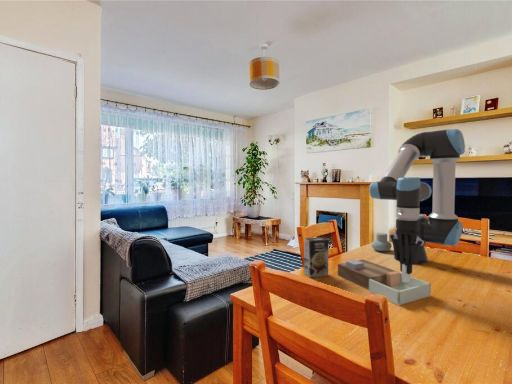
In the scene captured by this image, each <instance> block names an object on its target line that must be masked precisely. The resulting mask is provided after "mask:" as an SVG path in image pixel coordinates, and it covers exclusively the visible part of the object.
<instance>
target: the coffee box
mask: <svg viewBox="0 0 512 384" xmlns="http://www.w3.org/2000/svg"><path fill="white" fill-rule="evenodd" d="M303 239H304V243H303V249H304V250H303V253H304V254H303V255H304V256H303V273H304V275H306V276H307V277H308V278H316V277H327V276H329V247H330V245H329V241H330V239H328V238H325V237H322V236H319V237H318V236H317V237H307V238H305V237H304V238H303Z"/></svg>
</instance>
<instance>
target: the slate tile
mask: <svg viewBox="0 0 512 384" xmlns="http://www.w3.org/2000/svg"><path fill="white" fill-rule="evenodd" d="M345 263H346V266H348V267H350V268H353V269H360V268H364V263H362V262H360V261H357V259H350V260H346V261H345Z"/></svg>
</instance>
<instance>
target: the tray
mask: <svg viewBox="0 0 512 384" xmlns="http://www.w3.org/2000/svg"><path fill="white" fill-rule="evenodd" d="M399 273H400V285H398V286H394V287H389V286H386V285H383V284H381V283H379V282H376V281H374V280H372V279H369V290H368V292H369V293H373V295H376V294H381V295H384V296H386V297H387V298H388V300H387V301H389V302H391V303H392V304H395V305H397V306H401V305H405V304H408V303H411V302H415V301H419V300H422V299H426V298H428V297H431V286H432V284H431V283H430V282H427V281H426V280H422V279H419V278H416V277H412V276H411V275H410V282H402V272H399Z"/></svg>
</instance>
